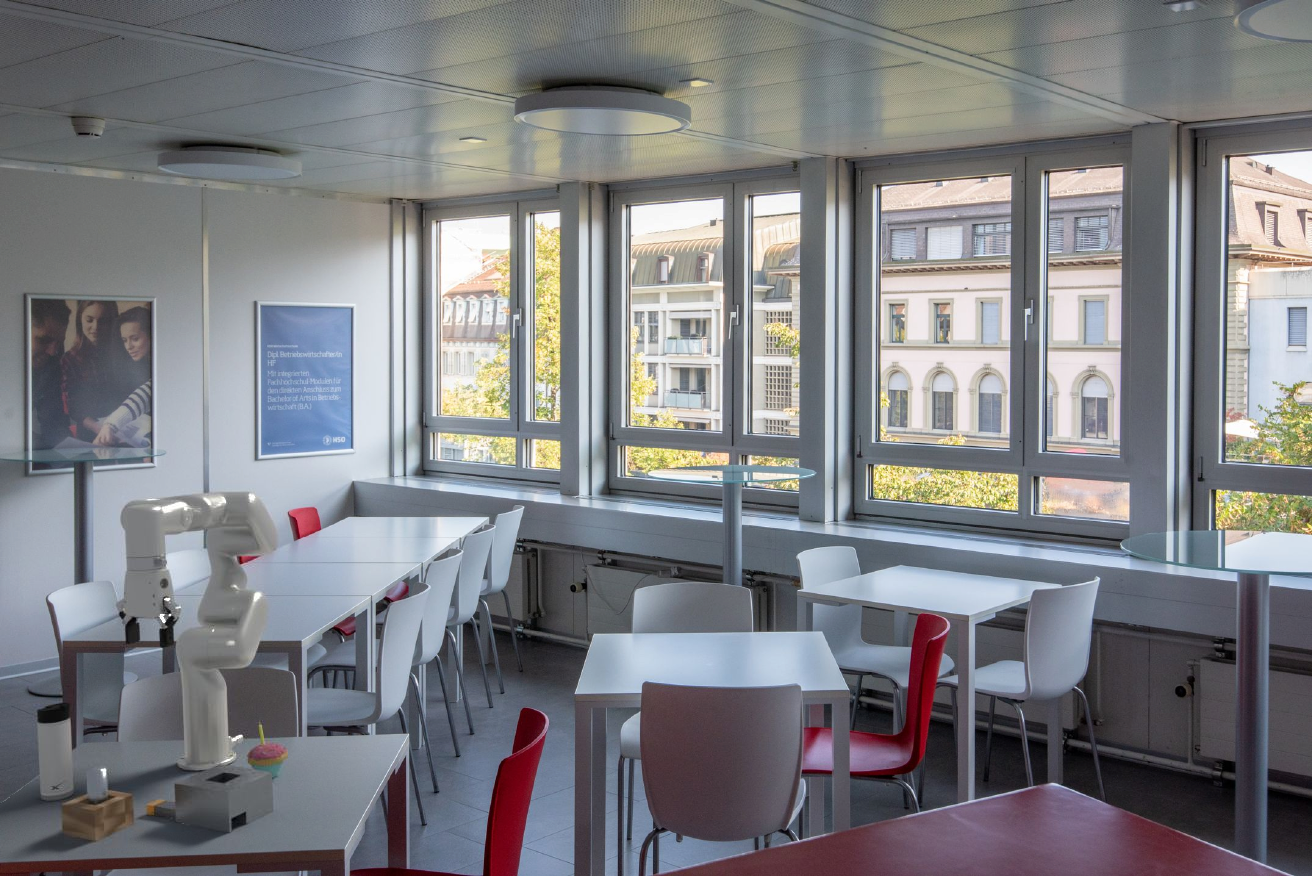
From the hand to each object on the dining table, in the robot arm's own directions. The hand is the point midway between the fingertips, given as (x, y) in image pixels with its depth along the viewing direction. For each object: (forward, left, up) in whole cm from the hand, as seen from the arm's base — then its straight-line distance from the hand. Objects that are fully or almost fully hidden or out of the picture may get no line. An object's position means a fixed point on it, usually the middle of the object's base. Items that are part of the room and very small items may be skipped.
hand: (149, 644), depth 235 cm
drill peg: (+16, +2, -32) cm, 36 cm away
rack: (+16, +2, -33) cm, 37 cm away
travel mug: (+6, -22, -33) cm, 40 cm away
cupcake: (-20, +12, -33) cm, 41 cm away
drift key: (+5, +13, -33) cm, 36 cm away
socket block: (+2, +21, -33) cm, 39 cm away
